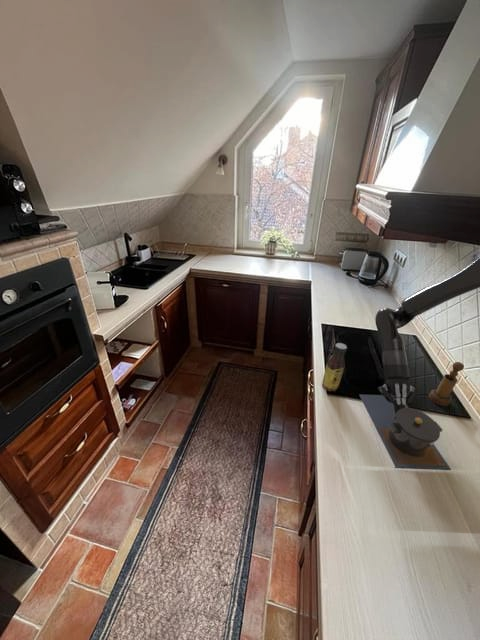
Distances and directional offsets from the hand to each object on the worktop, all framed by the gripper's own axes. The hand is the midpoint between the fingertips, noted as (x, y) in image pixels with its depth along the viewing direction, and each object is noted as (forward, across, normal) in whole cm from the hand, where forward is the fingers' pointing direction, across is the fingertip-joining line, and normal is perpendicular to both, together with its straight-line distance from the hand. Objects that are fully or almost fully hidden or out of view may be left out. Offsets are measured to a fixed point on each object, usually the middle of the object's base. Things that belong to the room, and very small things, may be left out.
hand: (400, 416), depth 84 cm
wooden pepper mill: (-6, +22, +12) cm, 26 cm away
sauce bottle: (-9, -18, +15) cm, 25 cm away
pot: (+7, 0, -2) cm, 7 cm away
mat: (+4, 0, +2) cm, 4 cm away
